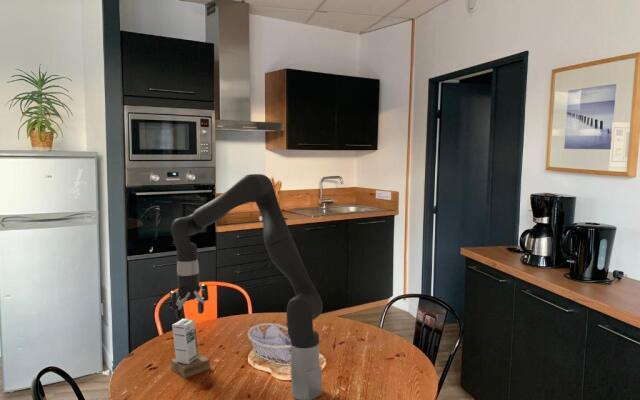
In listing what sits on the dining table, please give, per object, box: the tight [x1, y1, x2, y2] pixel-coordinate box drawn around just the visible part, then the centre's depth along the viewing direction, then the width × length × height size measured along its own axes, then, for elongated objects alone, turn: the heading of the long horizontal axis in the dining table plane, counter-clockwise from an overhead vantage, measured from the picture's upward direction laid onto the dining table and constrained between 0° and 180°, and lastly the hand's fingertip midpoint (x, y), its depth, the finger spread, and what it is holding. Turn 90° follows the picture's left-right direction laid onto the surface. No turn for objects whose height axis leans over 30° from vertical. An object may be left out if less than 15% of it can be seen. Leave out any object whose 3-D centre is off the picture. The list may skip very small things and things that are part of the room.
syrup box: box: [171, 318, 199, 364], centre depth 171 cm, size 6×6×14 cm
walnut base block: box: [170, 352, 211, 379], centre depth 173 cm, size 10×10×4 cm
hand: (190, 316), depth 171 cm, fingers open, 8 cm apart
